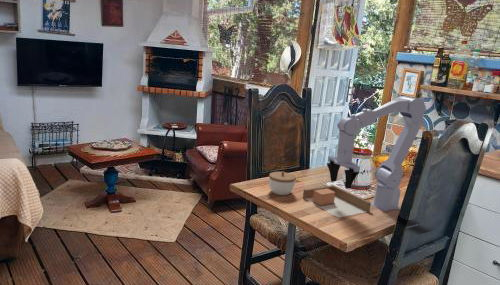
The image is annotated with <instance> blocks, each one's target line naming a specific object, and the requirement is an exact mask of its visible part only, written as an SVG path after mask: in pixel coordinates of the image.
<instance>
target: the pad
mask: <svg viewBox="0 0 500 285" xmlns="http://www.w3.org/2000/svg"><path fill="white" fill-rule="evenodd" d="M311 202H313V201H311ZM311 202H310V203H311ZM313 203H315V202H313ZM313 203H312V204H313ZM315 204H316V205H315ZM315 204H314V205H315V206H317V205H318V204H317V203H315ZM332 204H336V203H332ZM332 204H327V205H332ZM318 206H320V205H318ZM318 206H317V207H318ZM322 206H326V205H322ZM320 207H321V206H320ZM320 207H319V208H320Z"/></svg>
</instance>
